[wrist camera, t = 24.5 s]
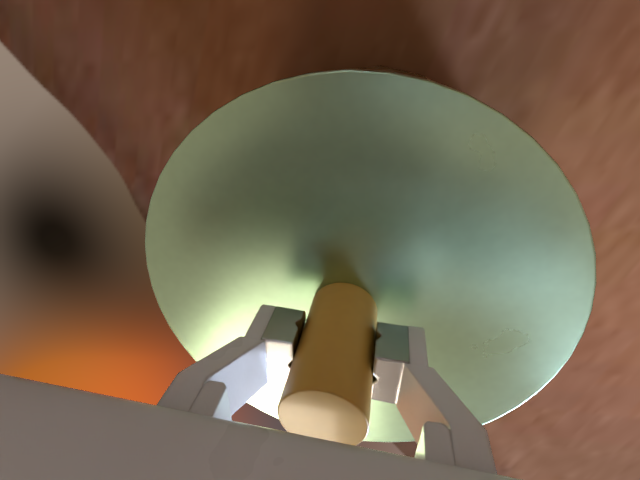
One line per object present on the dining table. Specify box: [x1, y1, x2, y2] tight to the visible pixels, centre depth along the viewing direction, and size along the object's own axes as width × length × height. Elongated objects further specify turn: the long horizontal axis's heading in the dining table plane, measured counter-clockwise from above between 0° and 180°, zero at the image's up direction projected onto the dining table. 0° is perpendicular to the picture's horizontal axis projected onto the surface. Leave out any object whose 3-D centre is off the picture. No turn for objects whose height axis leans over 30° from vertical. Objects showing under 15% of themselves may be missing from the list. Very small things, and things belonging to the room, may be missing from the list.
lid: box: [145, 69, 596, 446], centre depth 11 cm, size 16×16×6 cm
